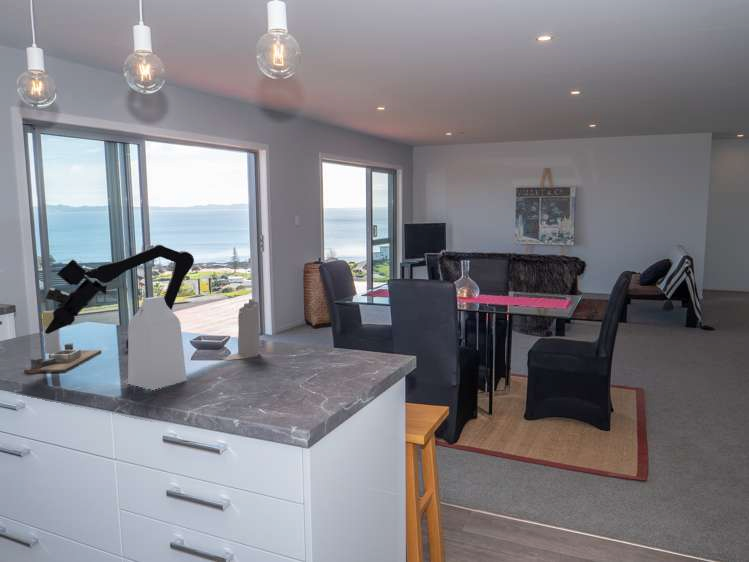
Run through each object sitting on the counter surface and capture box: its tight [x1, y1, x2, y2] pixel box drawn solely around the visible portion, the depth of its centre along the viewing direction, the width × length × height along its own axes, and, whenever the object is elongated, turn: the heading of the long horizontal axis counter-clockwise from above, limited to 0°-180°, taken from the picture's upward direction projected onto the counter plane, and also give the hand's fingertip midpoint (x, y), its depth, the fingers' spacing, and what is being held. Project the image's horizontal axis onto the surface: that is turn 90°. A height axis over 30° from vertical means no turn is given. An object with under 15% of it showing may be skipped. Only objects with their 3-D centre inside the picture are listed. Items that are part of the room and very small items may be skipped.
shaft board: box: [23, 342, 102, 374], centre depth 196 cm, size 13×26×4 cm, turn 2°
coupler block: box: [41, 310, 62, 355], centre depth 182 cm, size 4×4×13 cm
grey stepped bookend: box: [221, 298, 261, 361], centre depth 202 cm, size 7×14×20 cm, turn 131°
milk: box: [127, 295, 187, 391], centre depth 171 cm, size 12×12×26 cm
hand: (46, 331), depth 181 cm, fingers closed on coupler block, 4 cm apart
